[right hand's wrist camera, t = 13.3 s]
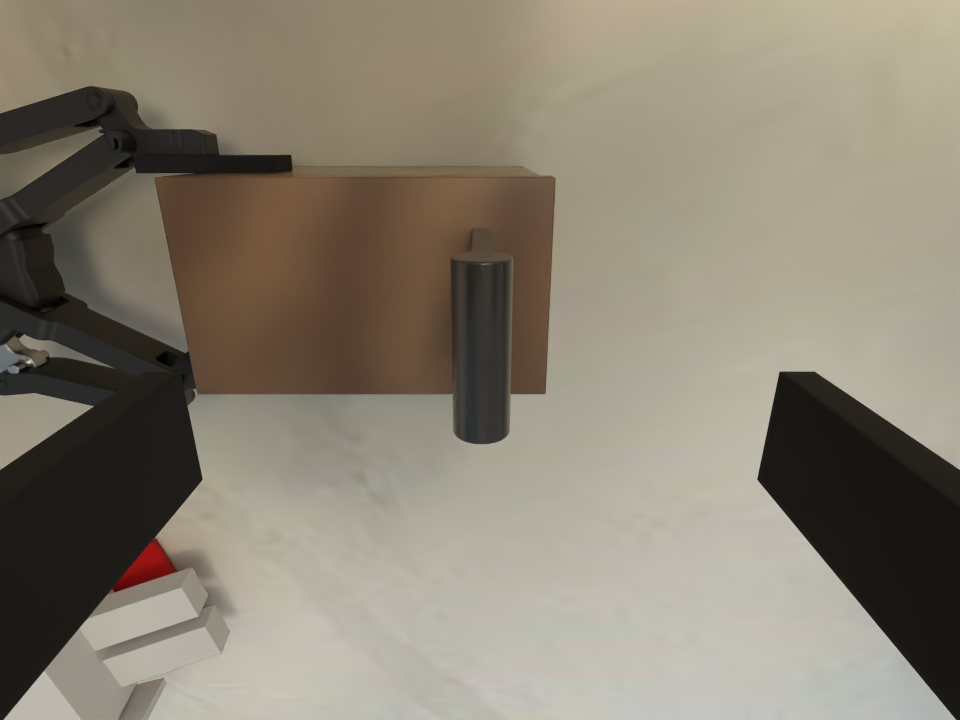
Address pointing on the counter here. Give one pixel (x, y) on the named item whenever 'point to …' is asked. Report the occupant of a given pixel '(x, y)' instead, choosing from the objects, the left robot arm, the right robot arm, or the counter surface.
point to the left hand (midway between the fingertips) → (295, 266)
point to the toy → (128, 646)
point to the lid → (366, 286)
